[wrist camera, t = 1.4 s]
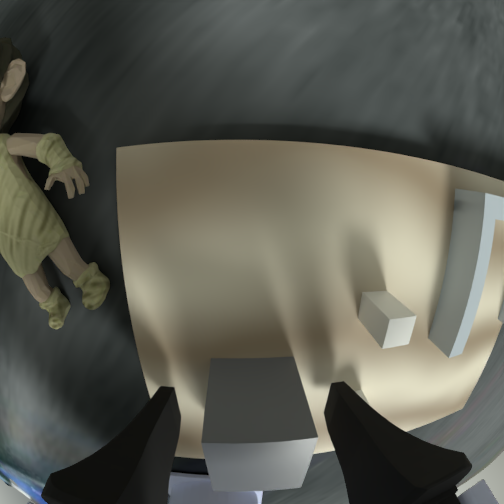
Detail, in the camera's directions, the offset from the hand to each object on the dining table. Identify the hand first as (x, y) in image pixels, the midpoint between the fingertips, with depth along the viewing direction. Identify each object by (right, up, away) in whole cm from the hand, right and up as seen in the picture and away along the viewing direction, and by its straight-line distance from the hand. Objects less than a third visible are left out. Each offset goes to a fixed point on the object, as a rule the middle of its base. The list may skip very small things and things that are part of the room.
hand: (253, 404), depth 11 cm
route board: (+6, +2, +2) cm, 7 cm away
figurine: (-11, +11, -1) cm, 15 cm away
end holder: (+13, +5, 0) cm, 14 cm away
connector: (0, -2, +1) cm, 2 cm away
